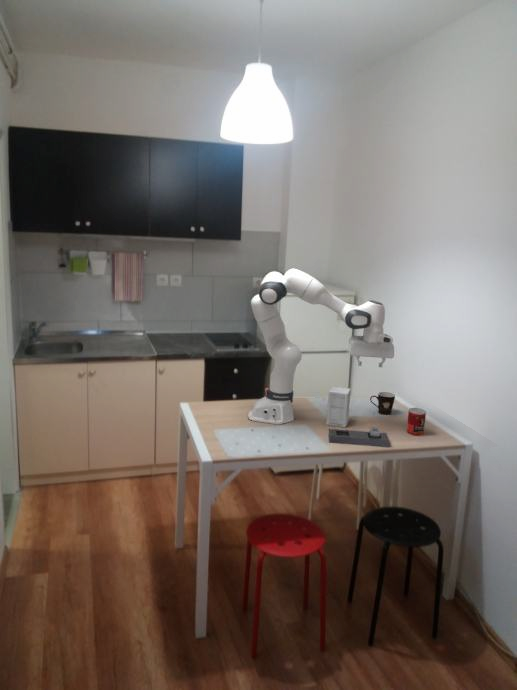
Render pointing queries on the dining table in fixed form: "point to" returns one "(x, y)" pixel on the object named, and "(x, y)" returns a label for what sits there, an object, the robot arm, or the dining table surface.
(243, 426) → the dining table surface
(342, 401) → the supplement box
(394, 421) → the dining table surface
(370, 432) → the nut block
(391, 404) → the coffee mug
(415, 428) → the canned food
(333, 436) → the grey slotted base block
